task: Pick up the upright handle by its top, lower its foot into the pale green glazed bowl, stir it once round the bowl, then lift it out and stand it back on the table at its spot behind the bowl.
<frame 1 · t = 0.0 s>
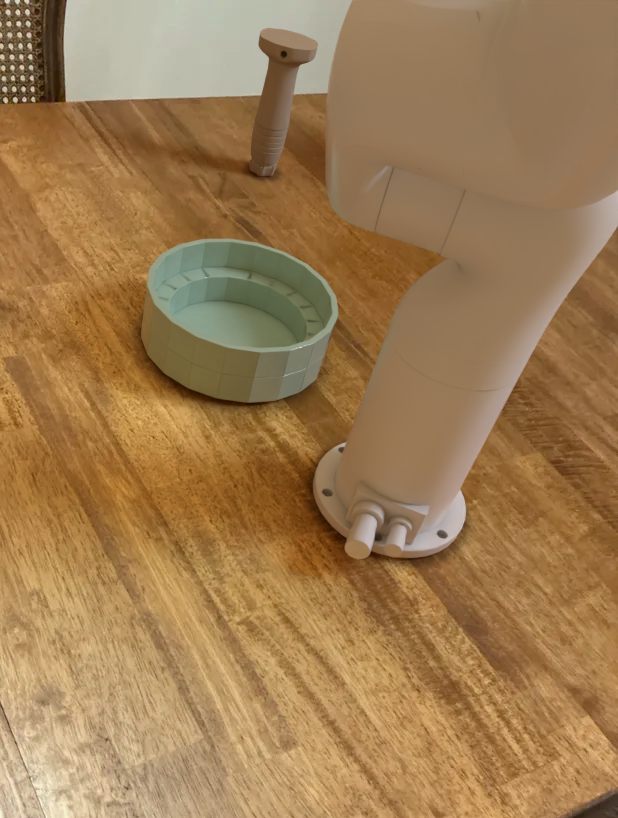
handle: (261, 173, 107), on the table
bowl: (232, 345, 83), on the table
balloon: (465, 192, 112), on the table
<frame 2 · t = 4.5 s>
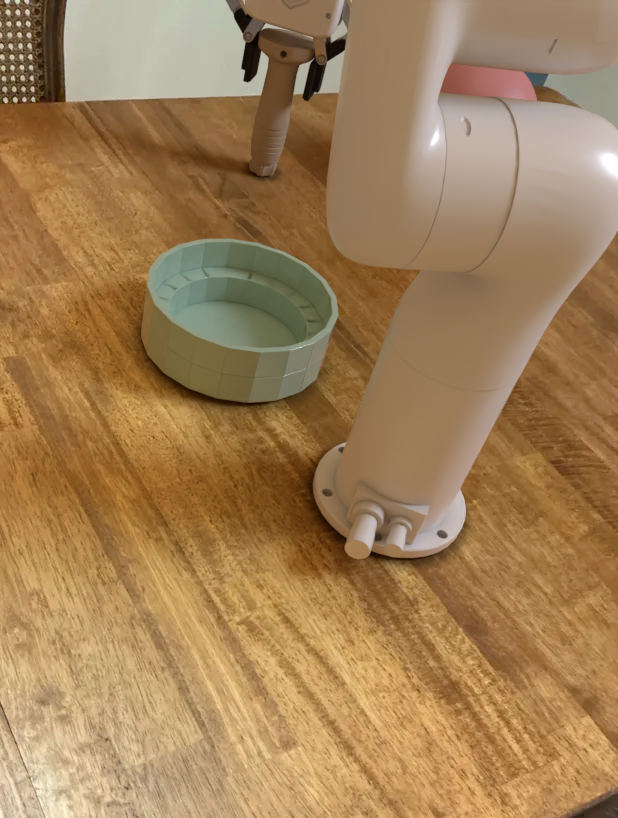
hand: (279, 86, 99), 10 cm above the table, tool pointing down, fingers closed on handle, 6 cm apart
handle: (261, 173, 107), on the table, touching gripper
everything else where it was.
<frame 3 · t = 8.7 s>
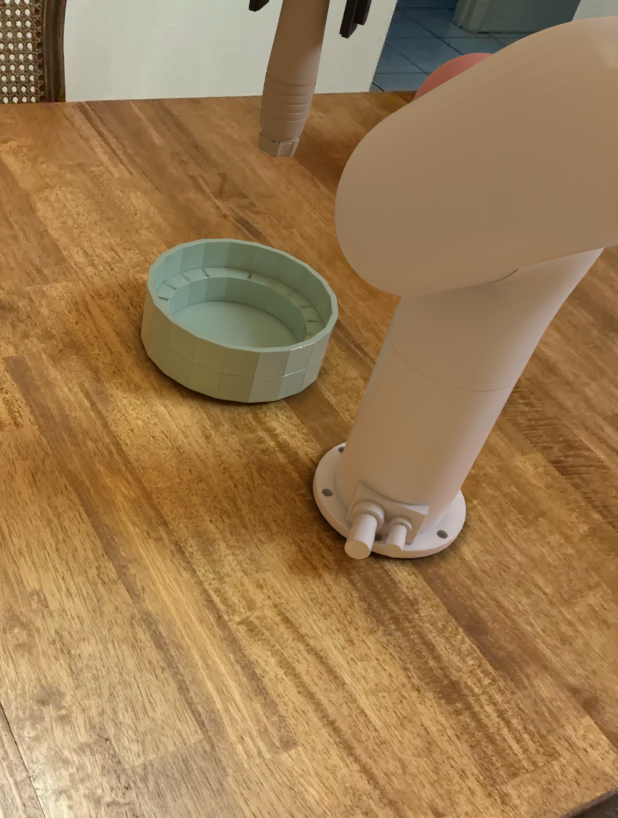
hand: (303, 17, 65), 27 cm above the table, tool pointing down, fingers closed on handle, 6 cm apart
handle: (275, 153, 72), point 17 cm above the table, touching gripper
everything else where it was.
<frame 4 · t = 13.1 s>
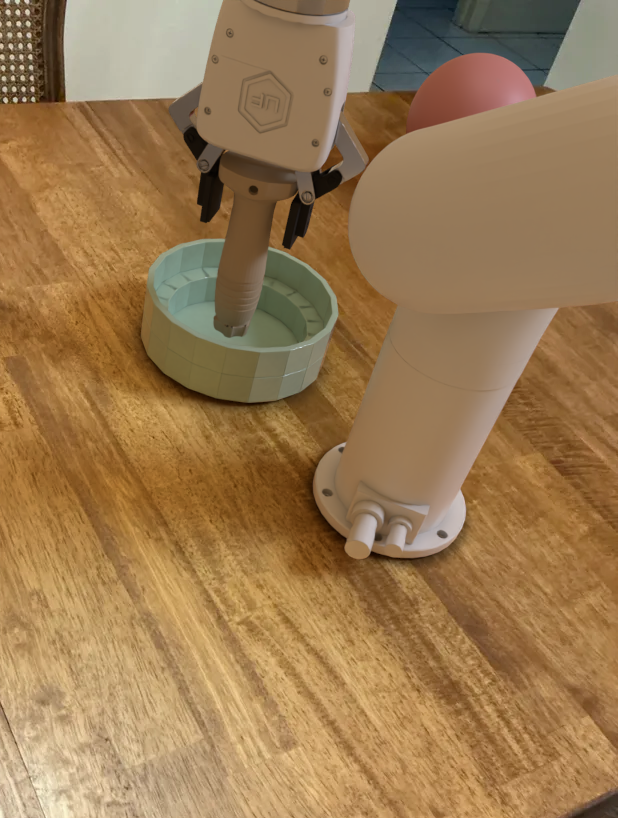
hand: (250, 226, 72), 13 cm above the table, tool pointing down, fingers closed on handle, 6 cm apart
handle: (230, 331, 79), point 3 cm above the table, touching gripper
everything else where it was.
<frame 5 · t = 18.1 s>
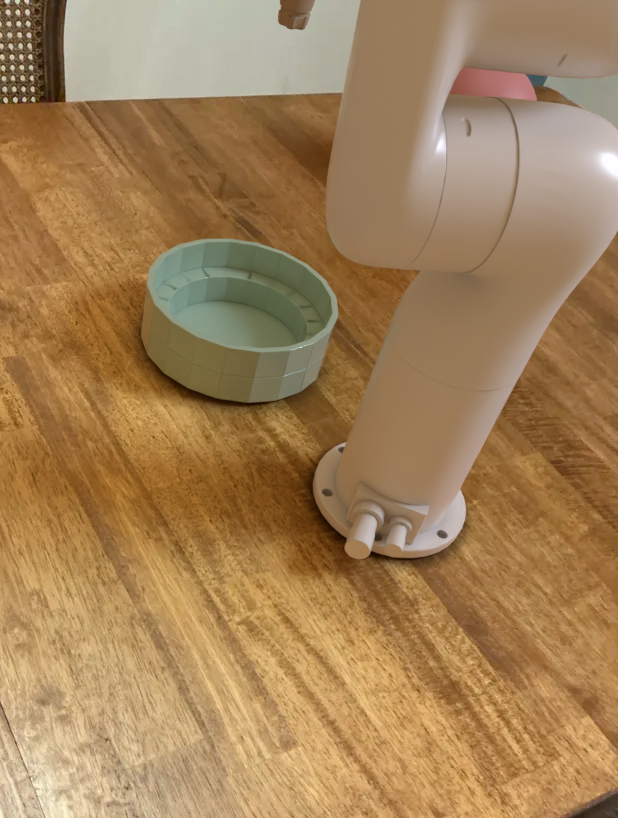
handle: (291, 27, 94), point 17 cm above the table, touching gripper
everything else where it was.
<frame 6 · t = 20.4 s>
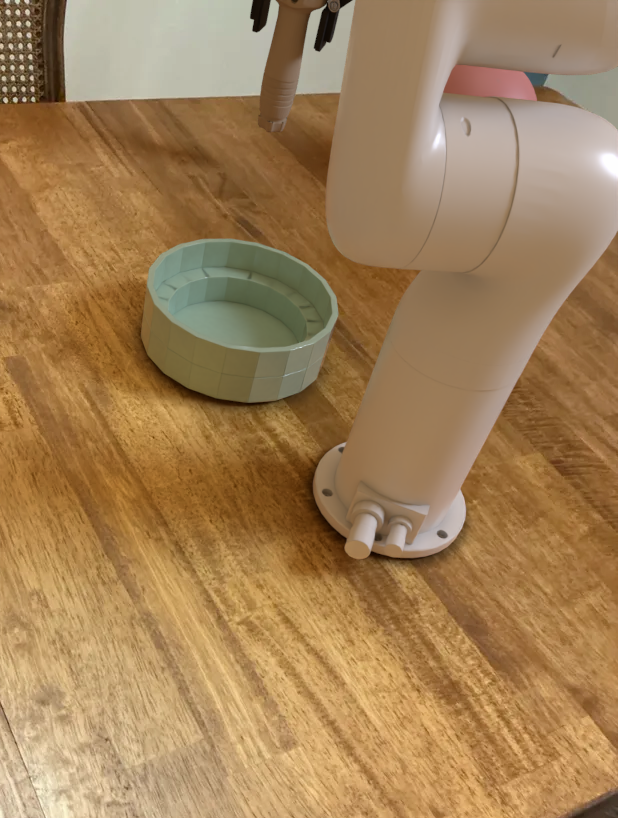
hand: (289, 36, 95), 15 cm above the table, tool pointing down, fingers closed on handle, 6 cm apart
handle: (270, 129, 103), point 5 cm above the table, touching gripper
everything else where it was.
when the fingers open (10 cm above the table, at t = 22.1 s): handle stays where it is, on the table.
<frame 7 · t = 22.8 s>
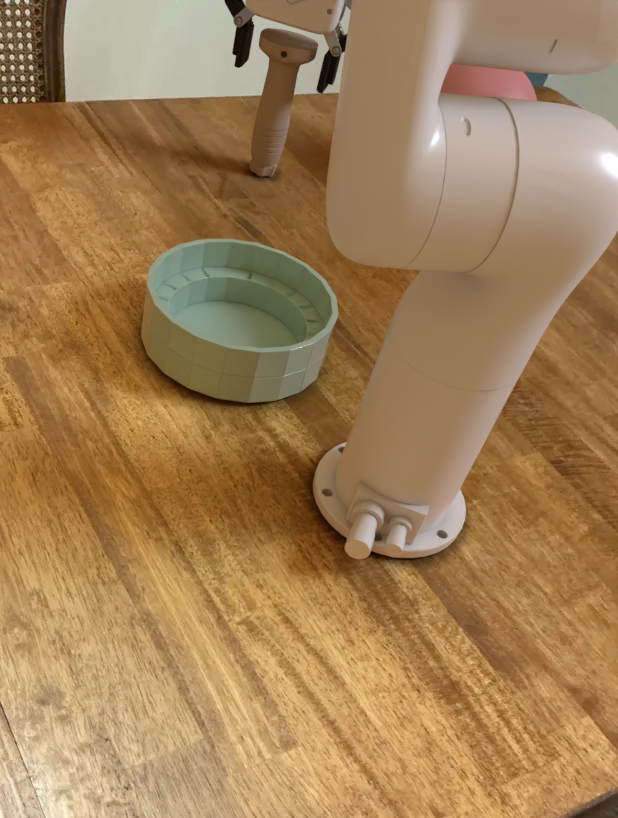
hand: (281, 76, 98), 11 cm above the table, tool pointing down, fingers open, 9 cm apart
handle: (261, 173, 107), on the table
everything else where it was.
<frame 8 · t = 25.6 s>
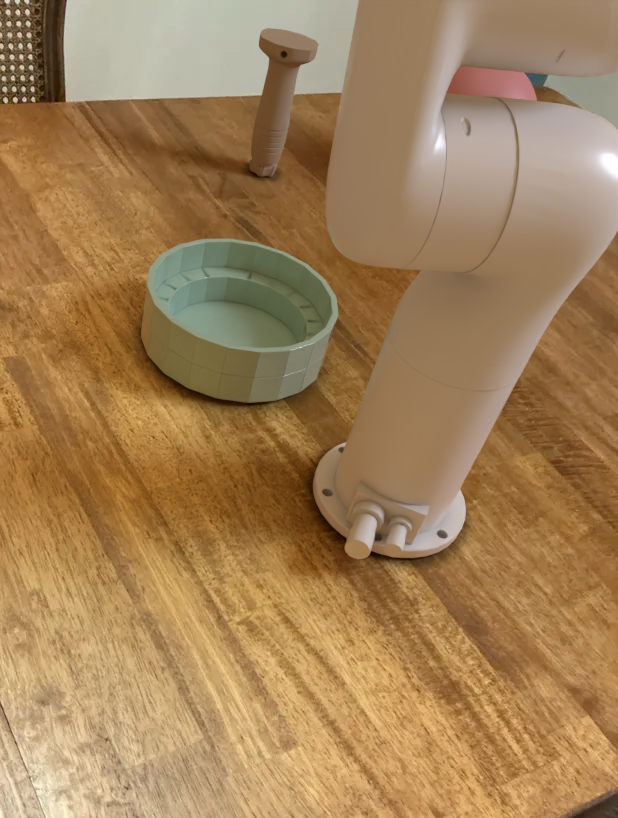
nothing on the table moved.
at the end: handle tilted 0°; the gripper is holding nothing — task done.
